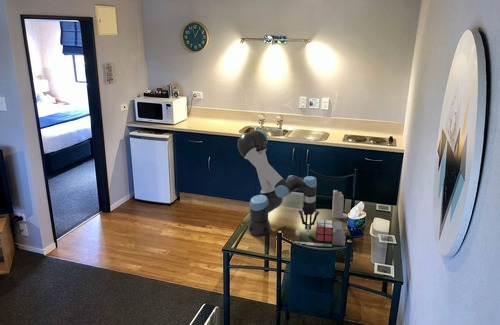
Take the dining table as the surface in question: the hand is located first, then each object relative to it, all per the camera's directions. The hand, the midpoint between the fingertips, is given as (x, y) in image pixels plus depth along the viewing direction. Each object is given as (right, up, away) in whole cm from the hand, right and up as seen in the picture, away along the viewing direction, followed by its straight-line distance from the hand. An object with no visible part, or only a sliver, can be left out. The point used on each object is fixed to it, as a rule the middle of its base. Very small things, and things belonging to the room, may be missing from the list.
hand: (307, 233), depth 255 cm
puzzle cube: (+10, -2, -2) cm, 10 cm away
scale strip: (+2, -5, -9) cm, 10 cm away
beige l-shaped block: (+27, +8, +24) cm, 37 cm away
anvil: (+19, -2, -4) cm, 19 cm away
